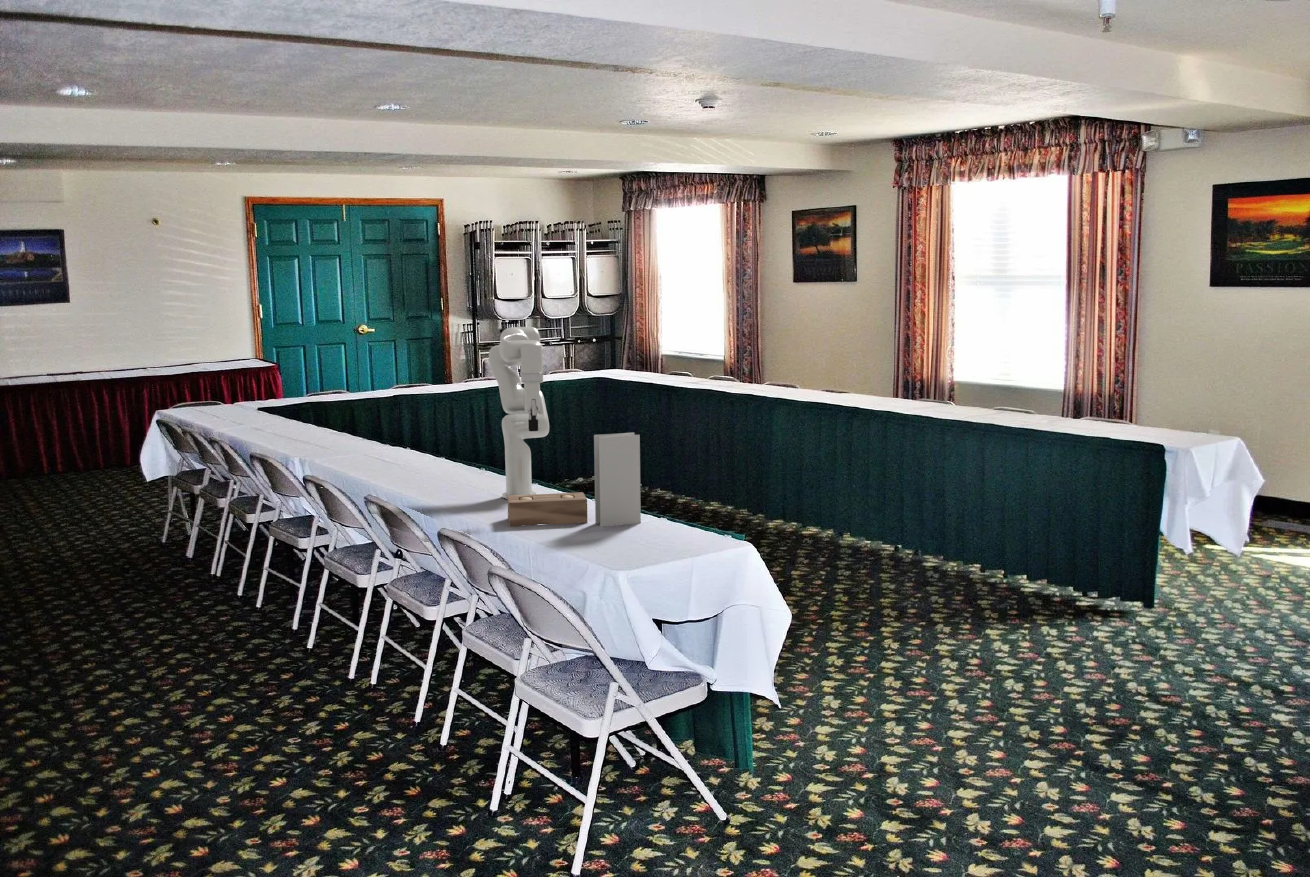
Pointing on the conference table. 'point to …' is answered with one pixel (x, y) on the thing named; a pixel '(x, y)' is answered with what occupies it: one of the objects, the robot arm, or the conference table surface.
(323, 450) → the conference table surface
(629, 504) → the brochure
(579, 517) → the walnut block
